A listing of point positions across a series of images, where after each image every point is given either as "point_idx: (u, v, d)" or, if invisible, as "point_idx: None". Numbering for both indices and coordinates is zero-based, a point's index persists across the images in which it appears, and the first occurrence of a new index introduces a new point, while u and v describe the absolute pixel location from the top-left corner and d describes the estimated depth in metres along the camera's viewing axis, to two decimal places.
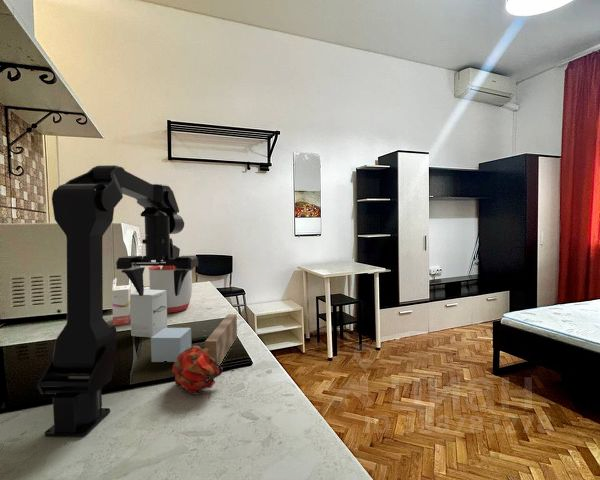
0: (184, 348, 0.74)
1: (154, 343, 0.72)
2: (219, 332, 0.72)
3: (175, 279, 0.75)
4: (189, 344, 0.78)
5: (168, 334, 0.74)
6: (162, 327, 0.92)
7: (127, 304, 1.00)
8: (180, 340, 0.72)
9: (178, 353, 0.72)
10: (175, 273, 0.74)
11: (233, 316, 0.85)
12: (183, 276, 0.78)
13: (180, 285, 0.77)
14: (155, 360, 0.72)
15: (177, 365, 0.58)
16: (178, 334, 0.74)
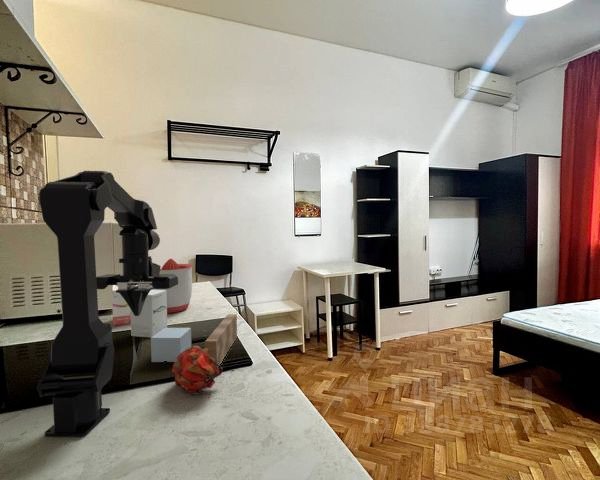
0: (184, 348, 0.74)
1: (154, 343, 0.72)
2: (219, 332, 0.72)
3: (135, 299, 0.73)
4: (189, 344, 0.78)
5: (168, 334, 0.74)
6: (162, 327, 0.92)
7: (127, 304, 1.00)
8: (181, 340, 0.72)
9: (178, 353, 0.72)
10: (135, 293, 0.72)
11: (233, 316, 0.85)
12: (145, 295, 0.76)
13: (141, 305, 0.75)
14: (155, 360, 0.72)
15: (177, 365, 0.58)
16: (178, 334, 0.74)
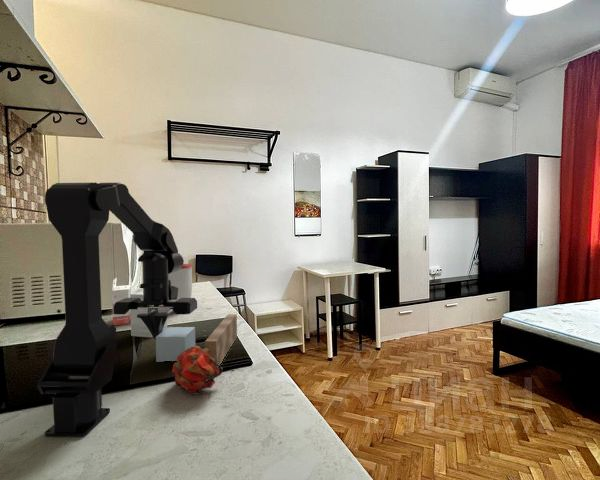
0: (189, 347, 0.75)
1: (159, 342, 0.72)
2: (219, 332, 0.72)
3: (155, 324, 0.73)
4: (193, 343, 0.78)
5: (172, 333, 0.74)
6: None
7: None
8: (185, 339, 0.72)
9: None
10: (155, 318, 0.72)
11: (233, 316, 0.85)
12: (164, 319, 0.76)
13: (161, 329, 0.75)
14: (160, 359, 0.72)
15: (177, 365, 0.58)
16: (182, 333, 0.74)
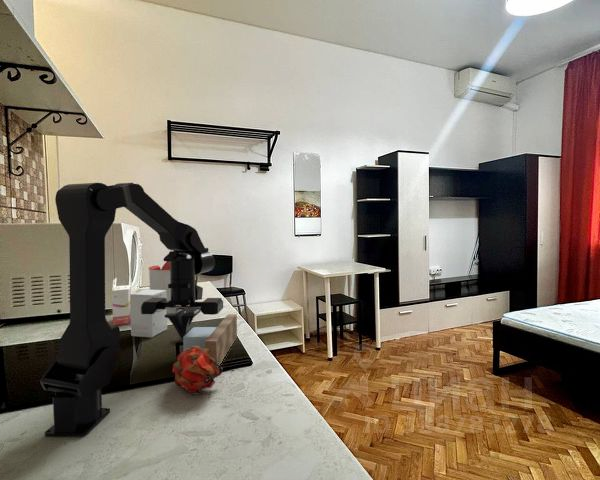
0: None
1: (186, 342, 0.72)
2: (219, 332, 0.72)
3: (183, 324, 0.73)
4: None
5: (199, 333, 0.74)
6: (162, 327, 0.92)
7: (127, 304, 1.00)
8: None
9: None
10: (183, 318, 0.72)
11: (233, 316, 0.85)
12: (191, 319, 0.76)
13: (188, 329, 0.75)
14: None
15: (177, 365, 0.58)
16: (209, 333, 0.74)
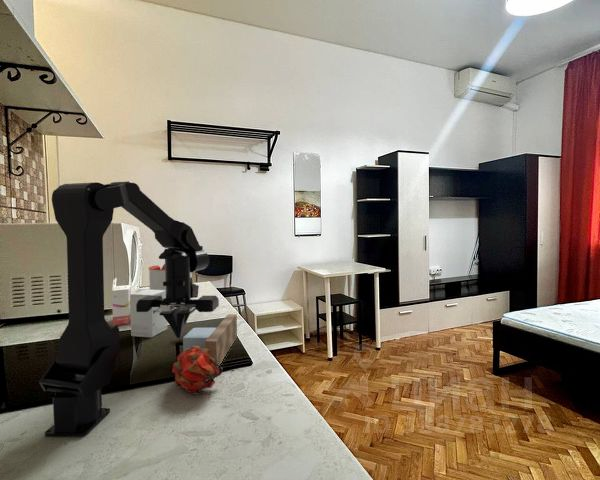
0: None
1: (186, 343, 0.72)
2: (219, 332, 0.72)
3: (178, 322, 0.73)
4: None
5: (199, 334, 0.74)
6: (162, 327, 0.92)
7: (127, 304, 1.00)
8: None
9: None
10: (178, 316, 0.72)
11: (233, 316, 0.85)
12: (186, 317, 0.76)
13: (183, 327, 0.75)
14: None
15: (177, 365, 0.58)
16: (209, 334, 0.74)
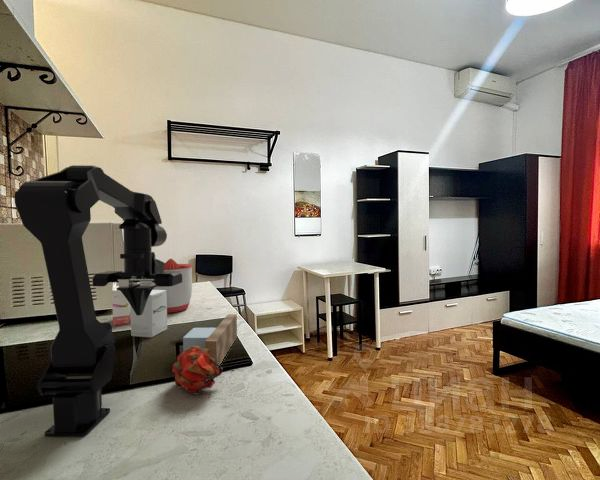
0: None
1: (186, 343, 0.72)
2: (219, 332, 0.72)
3: (136, 297, 0.68)
4: None
5: (199, 334, 0.74)
6: (162, 327, 0.92)
7: (127, 304, 1.00)
8: None
9: None
10: (136, 291, 0.68)
11: (233, 316, 0.85)
12: (147, 294, 0.71)
13: (143, 304, 0.70)
14: None
15: (177, 365, 0.58)
16: (209, 334, 0.74)
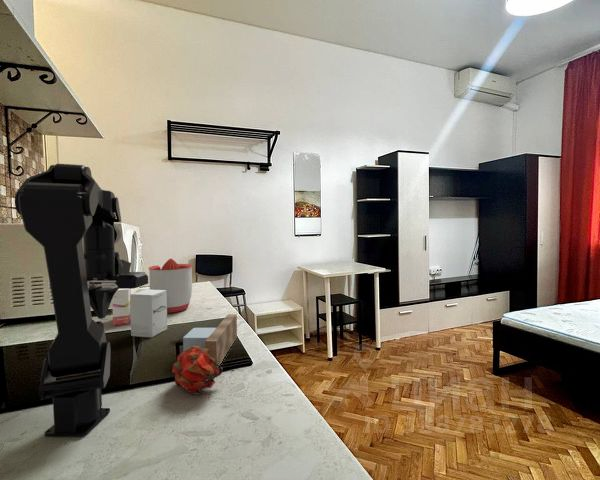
0: None
1: (186, 343, 0.72)
2: (219, 332, 0.72)
3: (98, 300, 0.65)
4: None
5: (199, 334, 0.74)
6: (162, 327, 0.92)
7: (127, 304, 1.00)
8: None
9: None
10: (97, 293, 0.64)
11: (233, 316, 0.85)
12: (110, 296, 0.68)
13: (106, 306, 0.67)
14: None
15: (177, 365, 0.58)
16: (209, 334, 0.74)
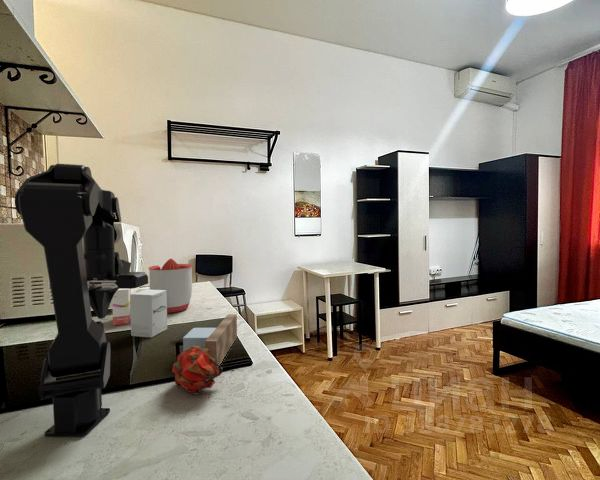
0: None
1: (186, 343, 0.72)
2: (219, 332, 0.72)
3: (98, 300, 0.65)
4: None
5: (199, 334, 0.74)
6: (162, 327, 0.92)
7: (127, 304, 1.00)
8: None
9: None
10: (97, 293, 0.64)
11: (233, 316, 0.85)
12: (110, 296, 0.68)
13: (106, 306, 0.67)
14: None
15: (177, 365, 0.58)
16: (209, 334, 0.74)
